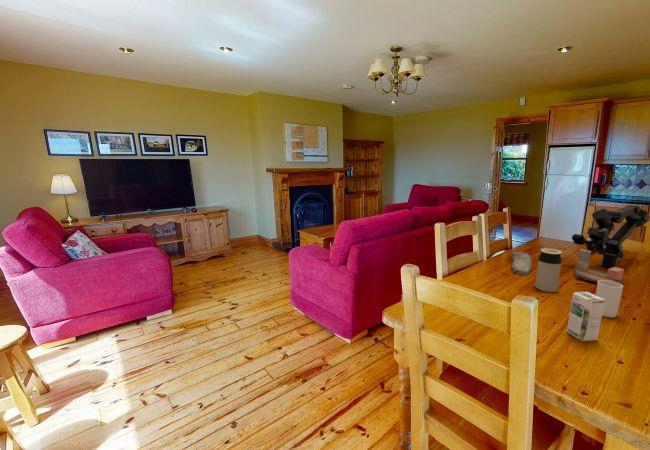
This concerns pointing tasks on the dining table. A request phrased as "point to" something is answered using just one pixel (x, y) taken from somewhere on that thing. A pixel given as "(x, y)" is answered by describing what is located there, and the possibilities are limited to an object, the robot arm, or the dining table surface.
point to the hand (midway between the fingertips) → (587, 255)
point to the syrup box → (585, 316)
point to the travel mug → (548, 270)
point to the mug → (609, 296)
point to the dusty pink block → (615, 273)
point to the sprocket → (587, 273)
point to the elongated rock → (521, 263)
